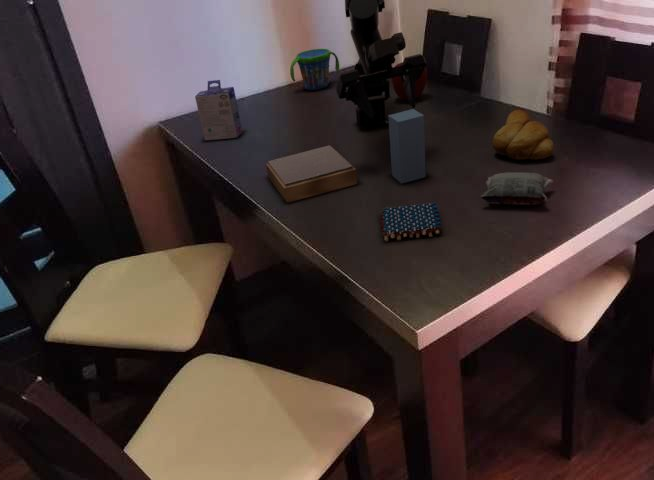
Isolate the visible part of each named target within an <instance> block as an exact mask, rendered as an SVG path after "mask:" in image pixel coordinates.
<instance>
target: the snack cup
mask: <svg viewBox="0 0 654 480" xmlns="http://www.w3.org/2000/svg"><path fill="white" fill-rule="evenodd" d="M331 55H332V56H334V59H335V66H334V69H335V71H336V72H339V70H340V61H339V58H338V56H337V54H336V53H335V52H333V51H331V50H330V49H328V48H315V49H309V50H304V51H301V52H299V53H297V54H296V55H295V58H294V59H293V60H292V62H291V64H290V68H289V73H290V79H291V80H292V81H293V83H296V79H295V70H294V66H295V65H296V64H297V65H298V68H299V71H300V75H301V78H302V82H303V86H304V88H305V90H308V91H318V90H321V89H323V88H327V87H328V85H329V83H330V60H331Z"/></svg>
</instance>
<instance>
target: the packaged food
mask: <svg viewBox="0 0 654 480" xmlns="http://www.w3.org/2000/svg"><path fill="white" fill-rule="evenodd" d="M553 183H554V180H553V179H550V178H549V177H546V176H543V175H542V174H540V173H536V172H526V171H525V172H524V171H523V172H522V171H520V172H517V171H515V172H514V171H513V172H512V171H507V172H500V173H497V174H496V173H495V174H494V175H492V176H490V177H489V176H487V180H486V182H485V184H486V186H487V187H486V188H487V190H486V191H485V192H484V193H482V195H480V199H482V200H484V201H486V202H487V203H488V204H492V205H512V206H513V205H516V206H517V205H518V206H522V205H523V206H526V205H528V206H530V205H540V204H541V203H543V202H546V203H549V200H548V197H547V196H546V195H545V193H544V191H545V190H546V189H548V187H549V186H550V185H552V184H553Z"/></svg>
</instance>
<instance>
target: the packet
mask: <svg viewBox="0 0 654 480" xmlns="http://www.w3.org/2000/svg"><path fill="white" fill-rule="evenodd" d="M387 117H388V131H389V133H388V134H389V147H390V148H389V149H390V162H391V165H390V166H391V176H392V177H393V178H394V179H395V180H396V181H398V182H399V183H400V184H406V183H410V182H413V181H416V180H420V179H424V178H426V174H427V173H426V141H425V139H426V137H425V115H424V114H423V113H421V112H419V111H417V110H416V109H415V108H412V109H408V110H404V111H400V112H396V113H392V114H388V116H387Z"/></svg>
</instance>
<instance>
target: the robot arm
mask: <svg viewBox="0 0 654 480" xmlns="http://www.w3.org/2000/svg"><path fill="white" fill-rule="evenodd" d="M385 3H386V2H385V0H344V10H345V18H349V21H350V26H351V30H350V36H351V38H352V42H353V45H354V47H355V50H356V53H357V55H358V60H357V62H356V64H355V65H354V68H353V69H352V70H349V71H345V72H341V73H340V74H339V77H338V79H337V83H336V87H335V89H336V90H335V91H336V94H337V96H338V99H340V100H342V99H345V101H346V102H349V101H350V102H352V104H353V105H354V106H357V107H355V114H356V115H355V116H356V125H358V126H359V127H360V128H361V129H363V130H364V131H368V130H372V129H376V128H380V127H384V126H387V125H388V126H389V121H388V120H387V119H386V105H385V101H388V100H389V99H390V98H391V91H390V80H389V79H391V78H394V77H398V76H400V78H401V80H402V81H404V82H403V85H402V86H403V89H404V91H405V93H406V96H407V98H408V101H407V102H408V103H409V105H410V107H411V108H412V109H415V108H416V106H417V105H416V103H417V102H416V100H417V99H416V81H417V80H418V79H419V78H420V77H421V75H422V73H423V71H424V69H425V67H426V68H427V64H428V63H427V61H426V58H425V56H424V55H423V54H421V53H418V54H414V55H413V54H412V55H410V56H406V57H404V59H403V60H402V62H403V63H402V62H401V63H402V65H401V66H397V67H395V66H393V64H395V63H396V56H398V55H399V54H400V52H403V50H405V48H406V46H407V43H406V39H405V36H404V34H403V31H401V32H396V33H393V34H392V35H391V36H390V37H389V38H384V39H383V38H382V35H381V32H380V30H379V23H380V19H379V18H380V16H379V13H383V10H384V9H386V6H385Z"/></svg>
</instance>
